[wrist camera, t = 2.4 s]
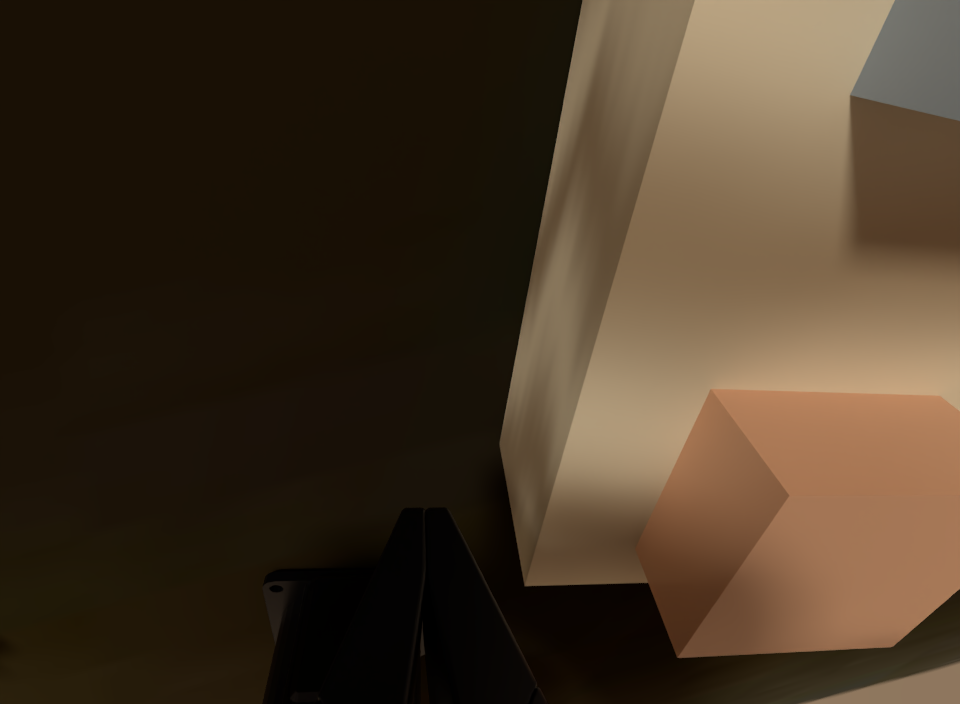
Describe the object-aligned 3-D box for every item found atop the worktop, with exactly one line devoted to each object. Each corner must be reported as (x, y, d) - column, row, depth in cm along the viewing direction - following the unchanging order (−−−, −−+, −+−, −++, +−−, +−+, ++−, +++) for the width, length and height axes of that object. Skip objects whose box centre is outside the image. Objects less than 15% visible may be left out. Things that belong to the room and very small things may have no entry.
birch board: (821, 447, 19) (933, 574, 15) (499, 443, 17) (524, 586, 13) (1350, -320, 8) (2204, -608, 4) (680, -523, 7) (1072, -1297, 3)
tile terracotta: (818, 545, 13) (892, 646, 11) (634, 548, 12) (677, 658, 10) (939, 395, 10) (1067, 494, 8) (710, 388, 10) (789, 495, 8)
